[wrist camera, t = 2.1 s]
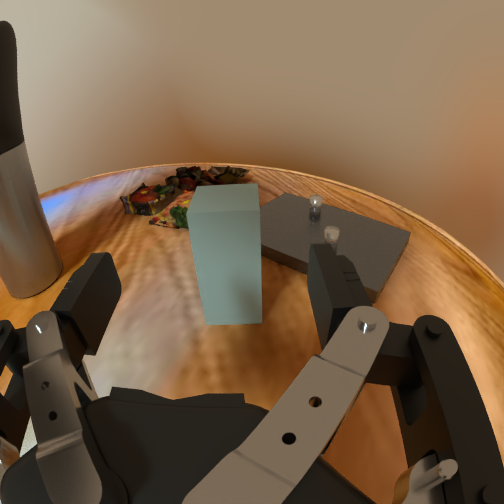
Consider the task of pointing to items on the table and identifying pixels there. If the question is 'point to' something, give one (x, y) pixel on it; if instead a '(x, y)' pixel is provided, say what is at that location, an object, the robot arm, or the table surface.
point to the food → (177, 193)
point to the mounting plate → (351, 240)
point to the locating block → (227, 252)
